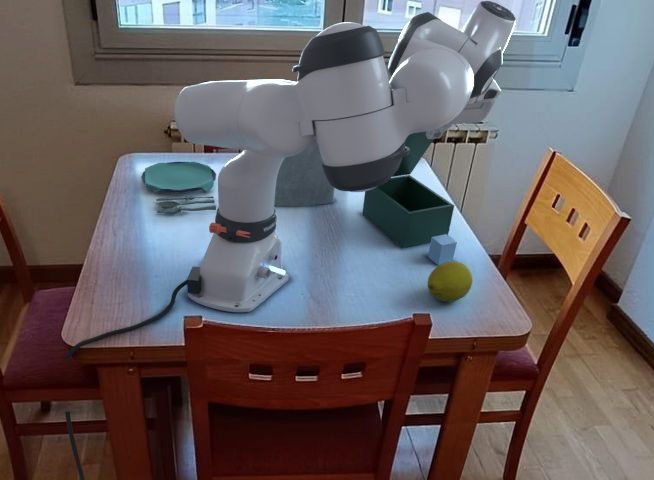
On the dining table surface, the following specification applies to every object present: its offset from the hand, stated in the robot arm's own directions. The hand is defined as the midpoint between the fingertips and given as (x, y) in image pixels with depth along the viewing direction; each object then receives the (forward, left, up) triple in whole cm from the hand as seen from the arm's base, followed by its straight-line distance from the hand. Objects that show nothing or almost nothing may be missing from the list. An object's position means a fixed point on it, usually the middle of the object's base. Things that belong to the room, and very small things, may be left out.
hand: (432, 136), depth 135 cm
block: (-10, -8, -24) cm, 27 cm away
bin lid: (+5, +6, -6) cm, 10 cm away
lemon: (-26, -11, -24) cm, 37 cm away
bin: (+2, +3, -24) cm, 24 cm away
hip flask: (+4, +30, -24) cm, 39 cm away
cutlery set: (-2, +62, -24) cm, 67 cm away
